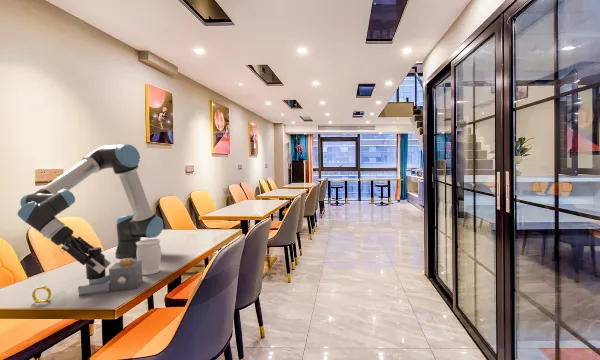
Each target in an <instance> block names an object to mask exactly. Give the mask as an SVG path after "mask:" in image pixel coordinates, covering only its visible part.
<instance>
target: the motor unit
mask: <svg viewBox="0 0 600 360" xmlns="http://www.w3.org/2000/svg"><path fill="white" fill-rule="evenodd" d="M133 258H134V257H131V258H120V260H119V262H115V263H114V264H113V265H112V266H111V267H110V268H109V269H108V274H106V275H105V277H103V278H100V279H95V280H88V284H82V285H81V284H80V285H78V287H77V290H78V292H77V293H78V296H79V297H81V296H91V295H98V294H99V295H100V294H106V293H108V294H109V293H111V292H117V291H126V290H135V289H138V288H139V287H140V285H141V284H142V283H143V279H144V278H143V277H144V276H143V275H142V262H141V260H138V261H137V260H133Z"/></svg>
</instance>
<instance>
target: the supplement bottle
mask: <svg viewBox="0 0 600 360" xmlns="http://www.w3.org/2000/svg"><path fill="white" fill-rule="evenodd" d="M102 252H103V251H102V247H94V248H90V249H88V254H89V255H88V254H87V255H88V256H89V257H90V259H91V258H93V259H94V260H95V261H97V262H98V263H99V264H101V265H102V266H103V267H105V259H106V257H105V254H104V253H102ZM106 271H107V270H106V268H105V269H104V270H103V271H102V272H101V273H100V274H99V273H98V272H97V271H95V270H94V269H93V268H91V267H90V266H89V265H87V264H85V273H86V274H85V275H86V276H85V277H86V280H88V281H89V280H95V279H100V278H103V277H105V275H107V274H106Z"/></svg>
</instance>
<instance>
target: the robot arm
mask: <svg viewBox="0 0 600 360" xmlns="http://www.w3.org/2000/svg"><path fill="white" fill-rule="evenodd" d="M140 159H141V155H140V153H139V151H138V148H136V147H135V146H133V145H131V144H126V143H120V144H119V143H118V144H111V145H108V144H107V145H103V146H100V147H98V148H96V149H95V150H92V151H91V152H89V153H88V154H87V155H85V156H83V157H82V158H81V161H80V162H79V163H76V164H75V165H74V166H72V167H71V168H70V169H68V170H67V171H65V172H63V173H62V174H61V175H59V176H58V177H56V178H55V179H54V180H52V181H50V182H49V183H47V184H46V185H45V186H43V187H41V188H40V189H39V190H37V191H36V192H34V193H29V194H25V195H24V196H22V197H21V199H20V202H19V204H20V207H21V208H20V209H19V210H18V211H17V216H18V217H19V218H20V219H21V220H22V221H23V222H24V223H26V224H27V225H29V226H31V227H32V228H33V229H34V230H36V231H37V232H39V233H40V234H41V235H42V237H45V238H47V239H48V240H50V242H52V243H53V244H54V245H56V246H60V245H63V246H61V250H63V251H65V252H66V253H67V254H68V255H70V256H71V257H73V259H74V260H76V261H77V262H79V264H82V266H86V264H87V265H89V266H90V267H91V268H93V269H94V270H95V271H97V272H98V273H99V274H100V273H101V272H102V271H103V270H104V269H105V270H106V269H107V267H109V266H110V265H111V261H109V260H108V259H106V258H105V267H103V266H102V265H101V264H99V263H98V262H97V261H95V260H94V259H93V258H91V259H90V257H89V256H88V255H89V254H88V249H90V248H95V247H94V246H93V245H91V244H90V243H89V242H87V241H86V240H84V239H83V238H82V237H81V236H78V237H75V236H73V234H74V230H72V228H70V227H69V226H67V225H66V224H65V223H64V222H62V221H61V220H60V219H58V217H56V216H58V215H59V214H61V213H62V212H64V211H65V210H67V209H68V208H70V207H71V206H72V205H73V204H74V203H75V202H76V198H75V195H74V193H73V192H71V190H72V189H73V188H75V187H76V186H78V185H79V184H80V183H81V182H83V181H84V180H86V179H87V178H88V177H90V176H91V175H92V174H96V173H99V172H100V171H102V170H104V169H109V168H111V169H112V170H113V172H114V174H116V175H117V176H118V177H119V179H120V181H121V184H122V186H123V190H124V192H125V195H126V197H127V200H128V202H129V205H130V209H131V210H132V213H131V214H126V215H122V216H119V217H117V218H116V232H117V246H116V249H115V253H114V254H115V256H114V257H115V258H117V259H123V258H137V255H136V253H137V245H136V242H138V241H142V238H148V239H155V238H157V237H159V235H161V233H162V231H163V228H164V221H163V219H162V217H160V216H157V214H156V212H155V211H154V209H151V207H150V204H149V201H148V198H147V195H146V193H145V191H144V187H143V185H142V182H141V179H140V177H139V174H138V172H137V170H138V168H139V163H140V161H141V160H140Z"/></svg>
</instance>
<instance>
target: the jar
mask: <svg viewBox="0 0 600 360" xmlns="http://www.w3.org/2000/svg"><path fill="white" fill-rule="evenodd" d="M160 243H161V240H160V239H159V238H148V239H144V240H143V239H141V241H138V242H136V245H137V253H136V255H137V256H136V261H138V260H141V262H142V276H150V275H151V276H152V275H155V274H157V273H159V272H160V271H161V269H160V268H159V267H160V265H161V259H162V258H161V257H162V248H161V245H160Z"/></svg>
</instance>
